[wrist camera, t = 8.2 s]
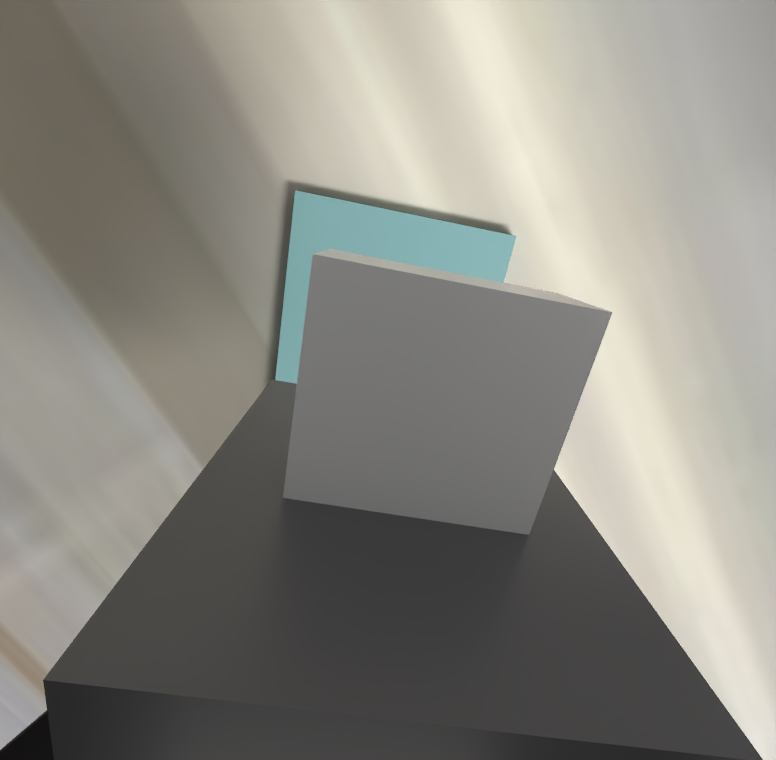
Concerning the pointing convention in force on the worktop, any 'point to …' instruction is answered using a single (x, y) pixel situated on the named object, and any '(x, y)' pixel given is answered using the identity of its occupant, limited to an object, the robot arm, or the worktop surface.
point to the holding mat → (375, 253)
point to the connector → (392, 560)
